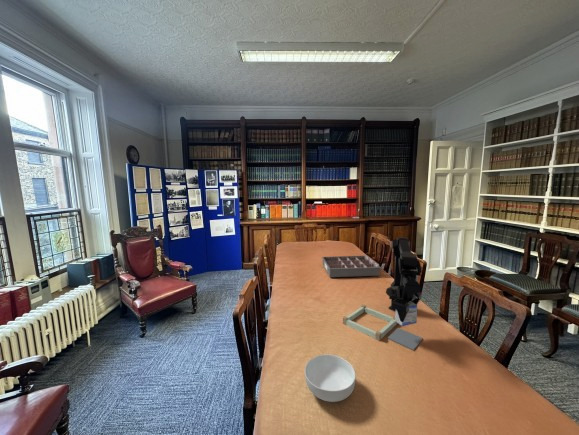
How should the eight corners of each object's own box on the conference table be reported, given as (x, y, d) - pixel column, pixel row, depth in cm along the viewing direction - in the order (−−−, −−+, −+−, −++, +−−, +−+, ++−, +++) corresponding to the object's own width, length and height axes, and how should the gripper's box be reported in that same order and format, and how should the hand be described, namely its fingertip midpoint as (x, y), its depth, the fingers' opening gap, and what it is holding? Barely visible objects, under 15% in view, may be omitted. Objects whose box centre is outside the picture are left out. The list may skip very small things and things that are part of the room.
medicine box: (401, 326, 103) (402, 307, 102) (394, 321, 107) (395, 303, 106) (416, 323, 105) (417, 305, 104) (409, 318, 109) (410, 300, 108)
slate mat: (397, 328, 114) (397, 327, 114) (422, 339, 106) (422, 337, 106) (387, 338, 107) (387, 337, 107) (413, 350, 99) (413, 349, 99)
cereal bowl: (347, 369, 89) (347, 352, 88) (362, 410, 73) (362, 390, 72) (302, 371, 89) (302, 354, 88) (307, 413, 72) (307, 392, 71)
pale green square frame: (362, 309, 133) (362, 304, 132) (397, 323, 119) (397, 317, 118) (342, 323, 120) (342, 317, 119) (379, 341, 106) (379, 334, 105)
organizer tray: (321, 265, 210) (321, 254, 208) (365, 264, 211) (366, 253, 210) (329, 279, 178) (329, 266, 177) (381, 277, 180) (381, 264, 178)
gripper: (397, 273, 116) (396, 304, 118) (379, 285, 103) (378, 318, 105) (422, 280, 108) (420, 312, 110) (406, 293, 95) (404, 329, 97)
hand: (406, 317), depth 106 cm, fingers closed on medicine box, 9 cm apart
